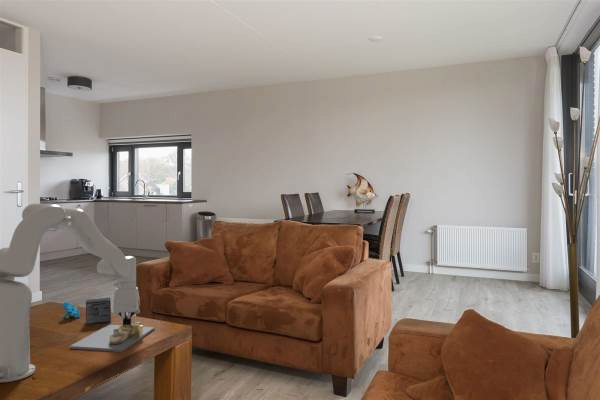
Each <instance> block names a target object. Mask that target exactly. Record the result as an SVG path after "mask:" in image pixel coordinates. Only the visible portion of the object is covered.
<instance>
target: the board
mask: <svg viewBox="0 0 600 400" xmlns="http://www.w3.org/2000/svg"><path fill="white" fill-rule="evenodd" d="M122 325H123V324H122ZM122 325H121V324H120V325H119V324H107V325H106V326H104V327H102V328H100V329H98V330H97V331H95V332H92V333H91V334H89V335H87V336H86V337H84V338H82V339H80V340H78V341H75V343H73V344H71V345H69V349H73V350H86V351H99V352H100V351H103V352H114V353H115V352H118V353H123V352H124V351H126V350H127V349H128V348H130V347H131V346H133V345H134V344H136V343H137V342H139V341H140V340H141V339H143V338H144V337H146V336H147V335H149V334H150V333H152V332H153V331H155V329H156V328H155V327H153V326H144V328H143V336H142V337H140V338H135V337H134V334H133V335H131V336H129V337H128V338H126V339H125V340H123V342H122V343H120V344H110V336H111V335H113V334H114V329H119V327H120V326H122ZM119 331H121V330H119Z"/></svg>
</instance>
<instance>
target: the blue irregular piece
mask: <svg viewBox="0 0 600 400" xmlns="http://www.w3.org/2000/svg"><path fill="white" fill-rule="evenodd" d="M61 306H62V307H63V309H64V310H65V311H66V313H65V314H64V316H62V318H63V319H66V318H67V317H68V316H71V317H74V318H75V319H80V317H81V313H80V310H78V307H77V306H74V304H72V303H70V302H66V301H65V302H63V304H62V305H61Z"/></svg>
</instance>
